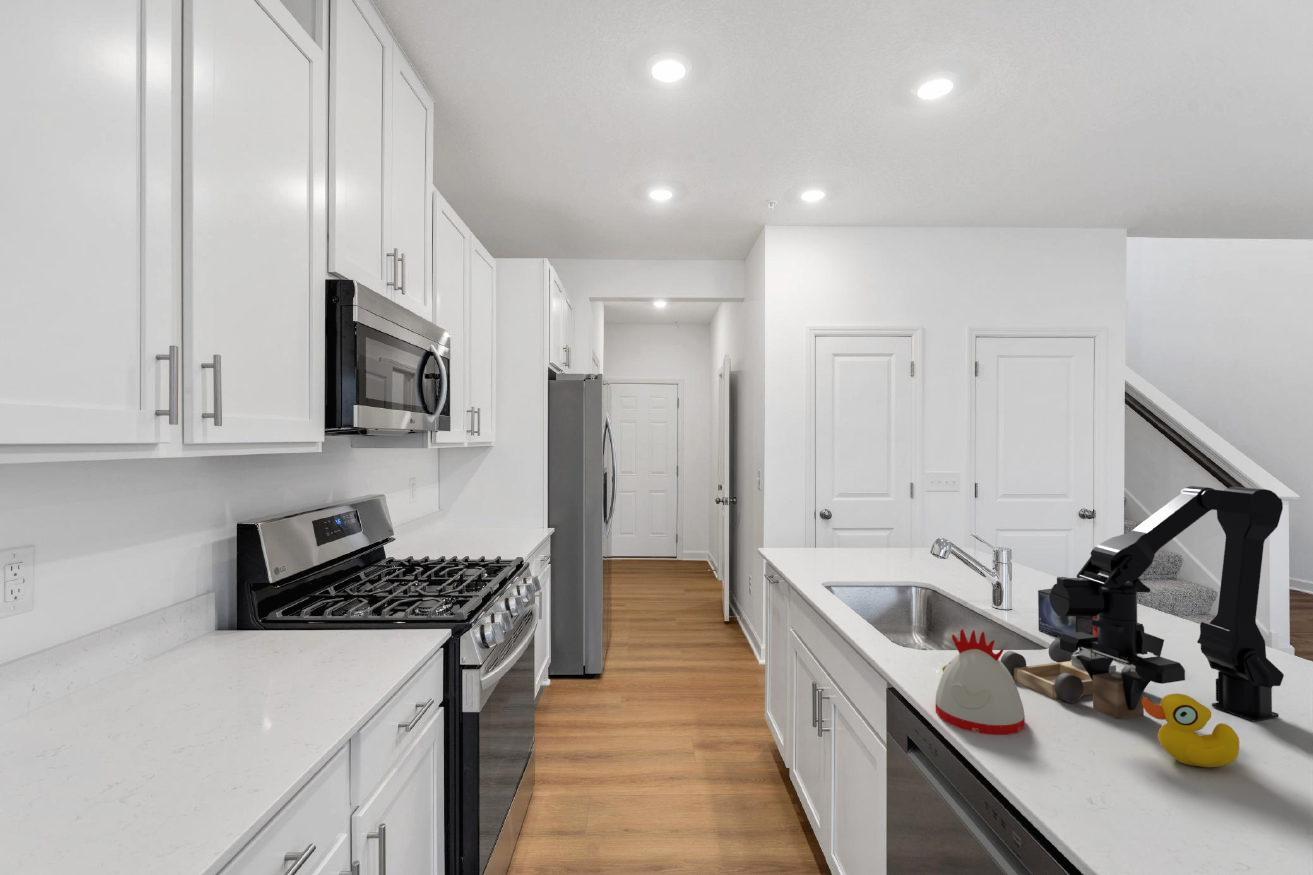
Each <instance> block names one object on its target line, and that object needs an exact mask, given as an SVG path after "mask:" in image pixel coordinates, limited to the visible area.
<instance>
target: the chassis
mask: <svg viewBox="0 0 1313 875" xmlns="http://www.w3.org/2000/svg"><path fill="white" fill-rule="evenodd" d="M1077 655H1079V650H1077V651H1076V652H1075V653H1073V655H1071V661H1067V662H1049V663H1043V664H1036V665H1034V664H1033V665H1027V661H1026V658H1025V657H1024V656H1023V655H1022V654H1020V653H1017V652H1015V651H1011V650H1008V651H1006V652H1004V654H1002V655H1001V657H1000V661H1001V662H1002V663H1003V665H1004V666H1005V667H1006V668H1007V670H1008V671H1009V673H1010V674H1011V676H1012V678H1013V680H1014V682H1015V683H1016V682H1017V683H1019V684H1021V685H1024V686H1026V687H1028V688H1030V689H1032V690H1034V691H1036V692H1039V693H1041V694H1043V695H1046V696H1048V697H1050V698H1053V699H1054V700H1064V701H1066V702H1068V703H1071V704H1072V703H1077V702H1078V701H1079V700H1080V699H1081V697H1082V696H1087V695H1088V696H1089V695H1093V681H1092V679H1091V677H1090V676H1089V674H1088V672H1087V671H1086V669H1085V668H1084V666H1083V664H1082V663H1081V661H1080V660H1078V659H1076V656H1077ZM1112 671H1117V672H1119V671H1118V670H1117V665H1116V664H1113V663H1111V665H1110V667H1109V673H1111V672H1112ZM1130 671H1131V665H1128V664H1125V665H1124V666H1123V668H1122V669H1121V671H1120V672H1121V673H1123V672H1130Z"/></svg>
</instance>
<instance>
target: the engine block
mask: <svg viewBox="0 0 1313 875" xmlns="http://www.w3.org/2000/svg"><path fill="white" fill-rule="evenodd" d="M1117 671H1118V670H1116V671H1112V672H1111V673H1104V674H1097V675H1093V694H1092V709H1093V710H1095V711H1098V712H1100V713H1102V714H1105V715H1107V716H1109V717H1111V718H1113V719H1117V720H1121V719H1127V718H1133V717H1140V716H1144V714H1145V713H1144V710H1145V709H1144V707H1143V705H1142V699H1143V698H1144V693H1143V694H1142V696H1141V698H1140V700H1139V702H1138V704H1137V706H1136V708H1135V710H1129V709H1128V706H1127V703H1126V698H1125V692H1124V686H1123V680H1122V673H1121V671H1118V672H1117Z"/></svg>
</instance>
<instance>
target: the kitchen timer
mask: <svg viewBox="0 0 1313 875" xmlns="http://www.w3.org/2000/svg"><path fill="white" fill-rule="evenodd" d="M959 633H960V634H959V635H960V636H959V638H957V636H956V635H955V634H954V633H953V634H952V635H951V638H952V641H953V644H954V646H955V648H956V649H957V651H958V653H957V654H956V655H955V656H954V657H953V658H952V659H951V660H950V661H949V662H948V663H947V664H945V665H944V666H943V667H942V668H941V670H942V674H941V677H940V679H939V682H938V685H937V689H936V692H935V714H936V715H937V716H938V717H939V718H940V719H941V720H943V721H944V722H946V723H948V724H950V725H952V726H954V727H956V728H959V729H962V730H965V731H969V732H974V733H977V734H982V735H983V734H984V735H991V736H992V735H994V736H1009V735H1014V734H1018V733H1020V732H1021V731H1023V730H1024V728H1025V726H1026V725H1025V724H1026V719H1025V717H1026V716H1025V710H1024V709H1025V708H1024V705H1023V701H1022V699H1021V696H1020V692H1019V690H1018V688H1017V684H1016V681H1014V677H1012V676H1011V674H1010V673H1009V671H1008V670H1007V668H1006V667H1005V666H1004V665H1003V663H1002V662H1001V657H1002V655H1003V652H1004V647H1002V648H1001V649H1000V650H999V652H997V653H994V652H993V647H994V644H995V639H992V640H991V641H990V642H989V644H987V642H986V635H985V634H986V633H985V631H984V630H983V631H982V632H981V633H980V637H979V640H978V641H977V636H976V631H975V629H973V630H972V632H971V635H970V637H969V641H968V639H967V636H966V633H965V631H964V629H963V628H962V629H960V631H959Z"/></svg>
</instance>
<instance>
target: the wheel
mask: <svg viewBox="0 0 1313 875" xmlns="http://www.w3.org/2000/svg"><path fill="white" fill-rule="evenodd" d="M1059 639H1060V638H1056V639H1054V640H1053V641H1052V642H1051V643H1050V644H1049V647H1048V655H1049V658H1050V660H1052V661H1053V662H1054V663H1057V662H1067V661H1071V655H1073V653H1071V652H1068V651H1065V650H1062V649H1060V643H1059Z"/></svg>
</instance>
